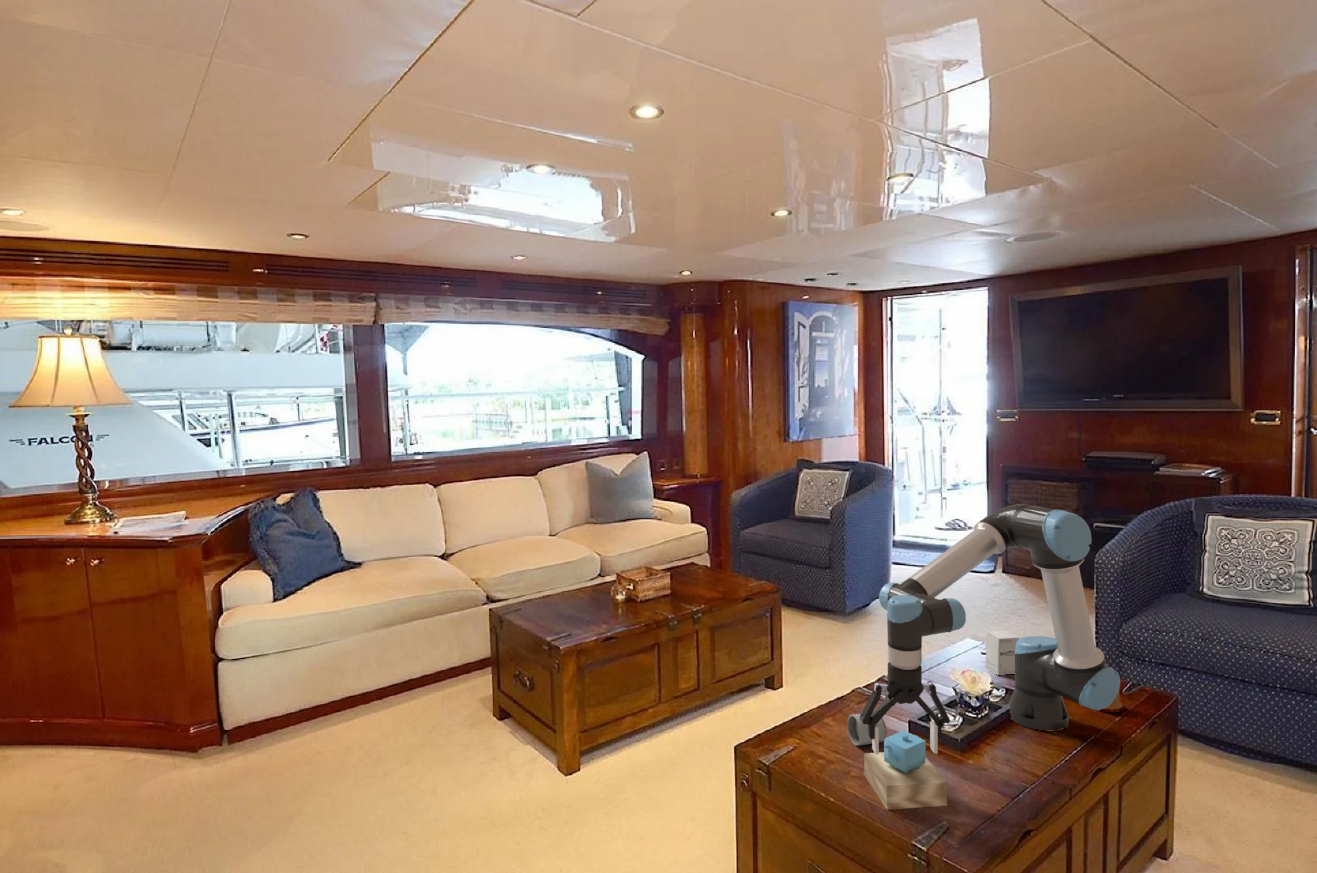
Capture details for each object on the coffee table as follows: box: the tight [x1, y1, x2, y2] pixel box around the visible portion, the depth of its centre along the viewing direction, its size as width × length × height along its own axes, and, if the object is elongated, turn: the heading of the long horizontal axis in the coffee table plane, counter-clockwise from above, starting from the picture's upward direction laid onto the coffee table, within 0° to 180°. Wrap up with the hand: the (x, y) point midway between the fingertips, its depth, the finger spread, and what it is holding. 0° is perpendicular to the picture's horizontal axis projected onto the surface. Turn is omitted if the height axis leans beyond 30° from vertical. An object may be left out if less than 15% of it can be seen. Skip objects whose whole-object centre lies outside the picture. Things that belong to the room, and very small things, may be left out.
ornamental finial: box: [1104, 690, 1123, 710], centre depth 203 cm, size 8×8×8 cm
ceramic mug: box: [847, 713, 887, 747], centre depth 189 cm, size 11×8×8 cm
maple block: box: [863, 751, 948, 811], centre depth 166 cm, size 14×14×6 cm
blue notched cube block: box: [883, 730, 927, 774], centre depth 165 cm, size 12×6×8 cm, turn 122°
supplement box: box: [985, 629, 1020, 676], centre depth 231 cm, size 7×7×13 cm
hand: (904, 751), depth 165 cm, fingers open, 13 cm apart
